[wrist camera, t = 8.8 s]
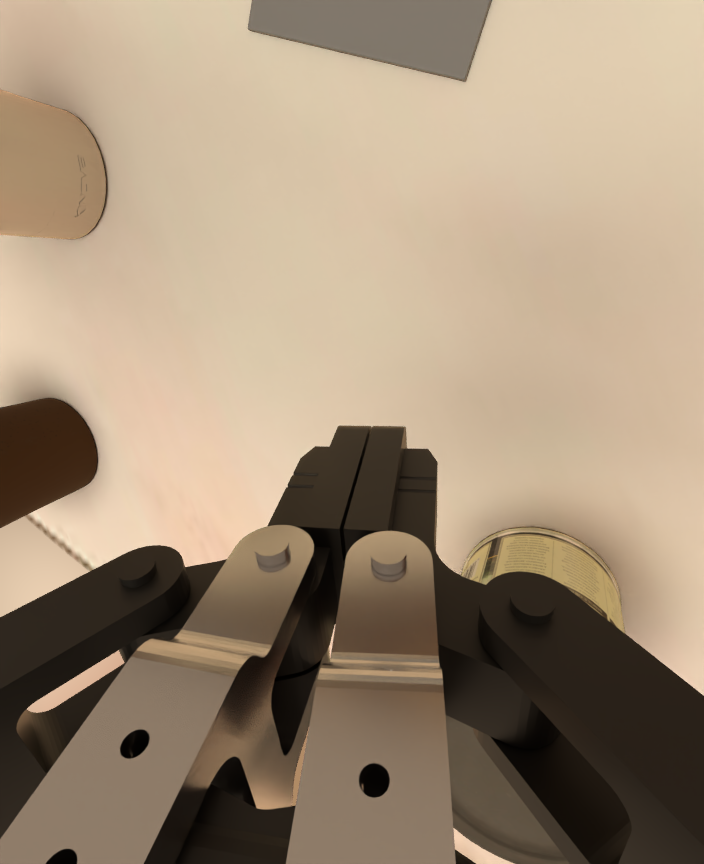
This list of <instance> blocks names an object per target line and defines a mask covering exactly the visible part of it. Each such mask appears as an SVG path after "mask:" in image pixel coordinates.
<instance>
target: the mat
mask: <svg viewBox="0 0 704 864" xmlns="http://www.w3.org/2000/svg"><path fill="white" fill-rule="evenodd" d="M491 1H492V0H252V4H251V11H250V17H249V23H248V29H249V30H250V31H253V32H257V33H262V34H266V35H270V36H274V37H279V38H283V39H287V40H291V41H296V42H300V43H304V44H308V45H312V46H317V47H321V48H325V49H329V50H334V51H338V52H342V53H346V54H351V55H355V56H359V57H363V58H367V59H372V60H376V61H380V62H384V63H389V64H393V65H397V66H401V67H406V68H410V69H414V70H418V71H422V72H427V73H431V74H435V75H439V76H444V77H448V78H452V79H456V80H461V81H465V82H466V79H467V75H468V72H469V69H470V66H471V63H472V60H473V57H474V54H475V51H476V48H477V44H478V41H479V38H480V35H481V32H482V29H483V26H484V23H485V20H486V17H487V13H488V10H489V7H490V4H491Z"/></svg>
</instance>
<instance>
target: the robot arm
mask: <svg viewBox="0 0 704 864" xmlns="http://www.w3.org/2000/svg"><path fill="white" fill-rule="evenodd" d="M105 195H106V177H105V170H104V164H103V161H102V157H101V154H100V151H99V148H98V146H97V144H96V142H95V140H94V137H93V136H92V134H91V133H90V131H89V130H88V128H87V127H86V126H85V125H84V124H83V123H82V122H81V121H80V120H79V119H78V118H77V117H76V116H74V115H73V114H71V113H70V112H68V111H65V110H62V109H59V108H56V107H52V106H49V105H46V104H43V103H40V102H37V101H34V100H31V99H28V98H25V97H21V96H18V95H15V94H13V93H10V92H7V91H3V90H0V235H11V236H25V237H42V238H59V239H77V238H81V237H83V236H85V235H86V234H88V233H89V232H90V231H91V230H92V229H93V228H94V227H95V226H96V224H97V222H98V220H99V219H100V216H101V213H102V210H103V207H104V202H105ZM436 527H437V461H436V460H435V458H434V457H433V455H432V454H431V452H430V451H429V450H428V449H407V443H406V428H405V427H396V426H373V427H371V426H338V428H337V430H336V433H335V435H334V438H333V440H332V442H331V445H330V447H316V446H315V447H314V448H313V449H312V450H310V451H309V452H308V453H307V454H306V455H304V456H303V457H302V458H301V459H300V461H299V463H298V465H297V467H296V469H295V471H294V476H292V477H291V479H290V481H289V483H288V488H287V487H286V489H285V491H284V493H283V496H282V498H281V500H280V502H279V504H278V506H277V508H276V510H275V512H274V514H273V516H272V518H271V520H270V522H269V524H268V526H267V527H264V528H261V529H258V530H256V531H254V532H252V533H250V534H248V535H247V536H246V537H244V538H243V539H242V540H241V541H240V542H239V543H238V544H237V545H236V547H235V548H234V550H233V551H232V553H231V554H230V556H229V557H228V559H226V560H222V561H218V562H212V563H207V564H201V565H195V566H190V567H185V566H184V562H183V559H182V557H181V555H180V554H179V552H177V551H176V550H175V549H173V548H171V547H167V546H160V545H158V546H146V547H142V548H138V549H135V550H132V551H130V552H128V553H126V554H123V555H121V556H120V557H118V558H116V559H114V560H112V561H110V562H108V563H106V564H104V565H102V566H100V567H98V568H96V569H94V570H92V571H90V572H88V573H86V574H84V575H82V576H80V577H79V578H77V579H75V580H73V581H71V582H69V583H67V584H65V585H63V586H61V587H59V588H57V589H55V590H53V591H51V592H49V593H47V594H45V595H43V596H42V597H39V598H37V599H36V600H34V601H32V602H30V603H28V604H26V605H24V606H22V607H20V608H18V609H17V610H14V611H12V612H10V613H8V614H6V615H4V616H2V617H0V864H476V863H474V862H473V861H471V860H470V859H468V858H467V857H465V856H464V855H462V854H461V853H460V852H458V851H457V850H455V845H454V831H453V817H452V802H451V788H450V774H449V759H448V745H447V731H446V716H445V715H447V716H449V717H451V718H453V719H455V720H457V721H460V722H462V723H464V724H466V725H468V726H470V727H472V728H473V731H474V734H475V736H476V738H477V740H478V742H479V743H480V745H481V746H482V748H483V749H484V750H485V752H486V753H487V754H488V756H489V757H490V758H491V760H492V761H493V762H494V764H495V765H496V766H497V768H498V769H499V770H500V772H501V773H502V774H503V776H504V777H505V778H506V780H507V781H508V782H509V784H510V785H511V786H512V788H513V789H514V790H515V792H516V793H517V794H518V796H519V797H520V798H521V800H522V801H523V802H524V804H525V805H526V806H527V808H528V809H529V810H530V811H531V813H532V814H533V815H534V817H535V818H536V819H537V821H538V822H539V823H540V825H541V826H542V827H543V829H544V830H545V831H546V833H547V834H548V835H549V837H550V838H551V839H552V841H553V842H554V843H555V845H556V846H557V847H558V849H559V850H560V851H561V853H562V854H563V855H564V857H565V858H566V859H567V861H568V862H569V863H570V864H704V696H703V695H702V694H701V693H699V692H698V691H697V690H696V689H694V688H693V687H692V686H691V685H689V684H688V683H687V682H685V681H684V680H683V679H682V678H680V677H679V676H678V675H677V674H675V673H674V672H673V671H672V670H670V669H669V668H668V667H666V666H665V665H664V664H663V663H661V662H660V661H659V660H658V659H656V658H655V657H654V656H653V655H651V654H650V653H649V652H648V651H646V650H645V649H644V648H642V647H641V646H640V645H639V644H637V643H636V642H635V641H634V640H632V639H631V638H630V637H629V636H627V635H626V634H625V633H623V632H622V631H621V630H620V629H618V628H617V627H616V626H615V625H613V624H612V623H611V622H610V621H608V620H607V619H606V618H605V617H603V616H602V615H601V614H599V613H598V612H597V611H596V610H594V609H593V608H592V607H591V606H589V605H588V604H587V603H586V602H584V601H583V600H582V599H580V598H579V597H578V596H577V595H575V594H574V593H573V592H572V591H570V590H569V589H568V588H567V587H565V586H564V585H562V584H561V583H559V582H557V581H556V580H554V579H552V578H549V577H547V576H544V575H541V574H537V573H532V572H523V571H516V572H508V573H504V574H501V575H499V576H496V577H495V578H493V579H492V580H490V581H489V582H488V583H487V584H486V585H485V584H482V583H479V582H476V581H473V580H470V579H467V578H465V577H462V576H460V575H459V574H457V573H455V572H453V571H452V570H451V569H449V568H448V567H447V566H446V565H445V564H444V563H443V562H442V561H441V560H440V558H439V557H438V555H437V553H436ZM335 624H336V626H335V632H334V639H333V646H332V652H331V658H330V651H329V645H330V641H331V637H332V633H333V629H334V625H335ZM118 650H119V652H120V654H121V656H122V658H123V660H124V662H125V663H124V664H123V665H121V666H120V667H118V668H116V669H115V670H113V671H112V672H110V673H109V674H107V675H105V676H104V677H102V678H101V679H99V680H98V681H96V682H94V683H93V684H91V685H90V686H88V687H87V688H85V689H83V690H82V691H80V692H79V693H78V694H76V695H74V696H73V697H71V698H69V699H68V700H66V701H65V702H63V703H62V704H60V705H59V706H57V707H55V708H53V709H51V710H49V711H46V712H42V713H33V712H30V711H28V710H27V708H28V707H29V706H30V705H31V704H32V703H34V702H35V701H37V700H38V699H40V698H42V697H43V696H45V695H46V694H48V693H50V692H51V691H53V690H55V689H56V688H58V687H59V686H61V685H63V684H64V683H66V682H68V681H69V680H71V679H72V678H74V677H76V676H77V675H79V674H80V673H82V672H84V671H85V670H87V669H88V668H90V667H92V666H93V665H95V664H97V663H98V662H100V661H101V660H103V659H105V658H106V657H108V656H110V655H111V654H113V653H115V652H116V651H118ZM308 728H309V731H308ZM307 731H308V737H307V743H306V748H305V754H304V760H303V766H302V772H301V778H300V783H299V789H298V795H297V801H296V806H292V799H293V783H294V776H295V771H296V767H297V763H298V759H299V756H300V753H301V750H302V747H303V744H304V740H305V738H306V734H307Z"/></svg>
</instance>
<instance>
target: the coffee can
mask: <svg viewBox="0 0 704 864" xmlns="http://www.w3.org/2000/svg"><path fill="white" fill-rule="evenodd" d="M516 571H523V572H532V573H537V574H541V575H544V576H547V577H549V578H552V579H554V580H556V581H557V582H559V583H561V584H562V585H564V586H565V587H567V588H568V589H569V590H570V591H572V592H573V593H574V594H575V595H577V596H578V597H579V598H580V599H582V600H583V601H584V602H586V603H587V604H588V605H589V606H591V607H592V608H593V609H594V610H596V611H597V612H598V613H599V614H601V615H602V616H603V617H605V618H606V619H607V620H608V621H610V622H611V623H612V624H613V625H615V626H616V627H617V628H618V629H620V630H621V631H622V632H623V633H625V630H624V625H623V619H622V613H621V598H620V593H619V589H618V585H617V583H616V581H615V578H614V576H613V574H612V573H611V571H610V569H609V568H608V567H607V565H606V564H605V563H604V562H603V560H602V559H601V558H600V557H599V556H598V555H597V554H596V553H595V552H594V551H592V550H591V549H590V548H588V547H587V546H585V545H584V544H583V543H581V542H580V541H578V540H576V539H574V538H572V537H570V536H567V535H565V534H562V533H559V532H556V531H552V530H548V529H541V528H536V527H530V528H514V529H508V530H504V531H501V532H498V533H495V534H493V535H491V536H489V537H488V538H486V539H485V540H483V541H481V542H480V543H479V544H478V545H477V546H476V547H475V548H474V549H473V550H472V552H471V553H470V554H469V556H468V558H467V560H466V562H465V564H464V567H463V570H462V574H461V576H462V577H465V578H467V579H470V580H473V581H476V582H479V583H482V584H485V585H486V584H487V583H488V582H489V581H490V580H492V579H493V578H495V577H496V576H499V575H501V574H504V573H508V572H516ZM445 716H446V731H447V745H448V759H449V774H450V788H451V802H452V817H453V827H454V828H455V829H456V830H457V831H459V832H460V833H461V834H462V835H463V836H465V837H466V838H468V839H469V840H470V841H472V842H473V843H475V844H477V845H478V846H480V847H481V848H483V849H485V850H487V851H489V852H491V853H492V854H494V855H496V856H498V857H501V858H503V859H505V860H507V861H510V862H512V863H515V864H570V863H569V862H568V861H567V859H566V858H565V857H564V855H563V854H562V853H561V851H560V850H559V849H558V847H557V846H556V845H555V843H554V842H553V841H552V839H551V838H550V837H549V835H548V834H547V833H546V831H545V830H544V829H543V827H542V826H541V825H540V823H539V822H538V821H537V819H536V818H535V817H534V815H533V814H532V813H531V811H530V810H529V809H528V808H527V806H526V805H525V804H524V802H523V801H522V800H521V798H520V797H519V796H518V794H517V793H516V792H515V790H514V789H513V788H512V786H511V785H510V784H509V782H508V781H507V780H506V778H505V777H504V776H503V774H502V773H501V772H500V770H499V769H498V768H497V766H496V765H495V764H494V762H493V761H492V760H491V758H490V757H489V756H488V754H487V753H486V752H485V750H484V749H483V748H482V746H481V745H480V743H479V742H478V740H477V738H476V736H475V734H474V731H473V728H472V727H470V726H468V725H466V724H464V723H462V722H460V721H457V720H455V719H453V718H451V717H449V716H447V715H445Z"/></svg>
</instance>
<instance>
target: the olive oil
mask: <svg viewBox="0 0 704 864" xmlns="http://www.w3.org/2000/svg"><path fill="white" fill-rule="evenodd" d="M96 467H97V452H96V447H95V443H94V440H93V437H92V435H91V433H90V431H89V429H88V427H87V425H86V424H85V422H84V421H83V419H82V418H81V417H80V416H79V414H78V413H77V412H76V411H75V410H74V409H72V408H71V407H70V406H69V405H67V404H65V403H64V402H62V401H60V400H57V399H52V398H45V399H39V400H35V401H30V402H25V403H21V404H16V405H11V406H7V407H1V408H0V528H2V527H3V526H5V525H7V524H9V523H11V522H13V521H15V520H17V519H19V518H21V517H23V516H25V515H27V514H29V513H31V512H33V511H35V510H37V509H39V508H41V507H43V506H45V505H47V504H49V503H52V502H54V501H56V500H58V499H60V498H62V497H64V496H66V495H68V494H70V493H72V492H74V491H76V490H78V489H80V488H82V487H84V486H86V485H87V484H88V483H89V482H90V481H91V480H92V479H93V477H94V474H95V471H96Z"/></svg>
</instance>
